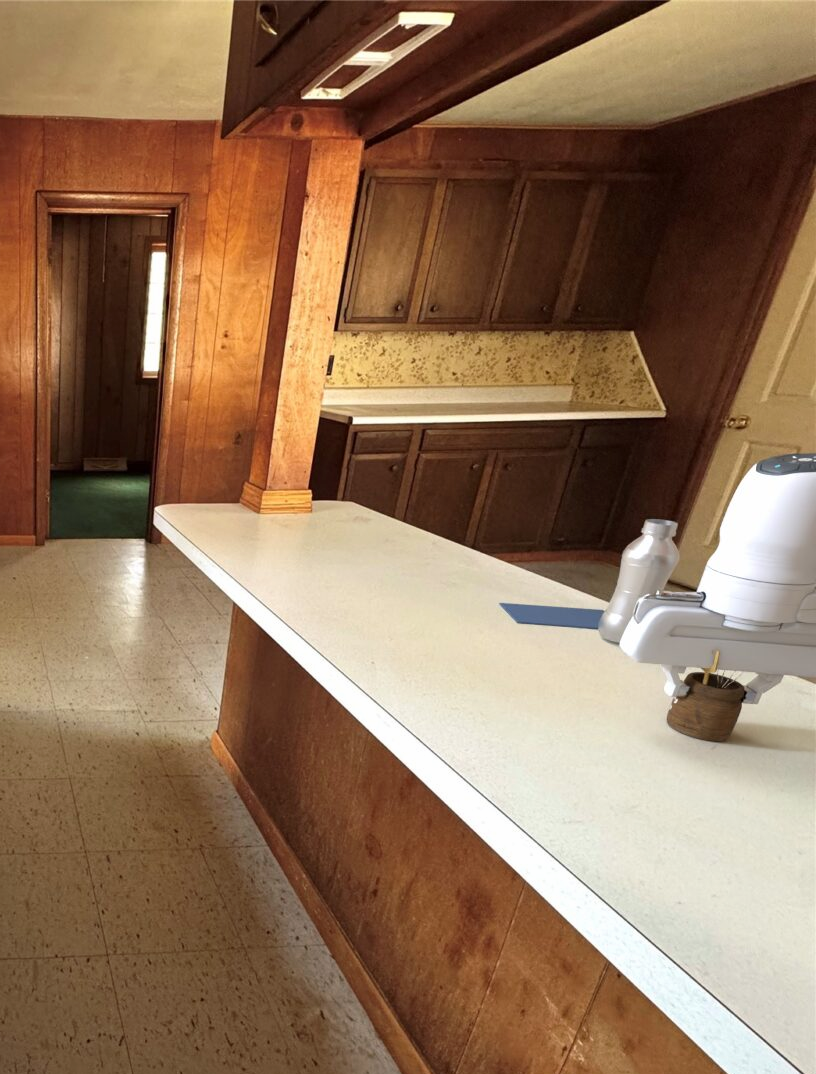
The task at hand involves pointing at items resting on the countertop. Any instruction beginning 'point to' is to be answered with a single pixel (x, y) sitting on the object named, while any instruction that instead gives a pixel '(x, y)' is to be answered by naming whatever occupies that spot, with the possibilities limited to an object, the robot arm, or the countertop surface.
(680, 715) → the utensil holder
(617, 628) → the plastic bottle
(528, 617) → the mat
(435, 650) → the countertop surface
